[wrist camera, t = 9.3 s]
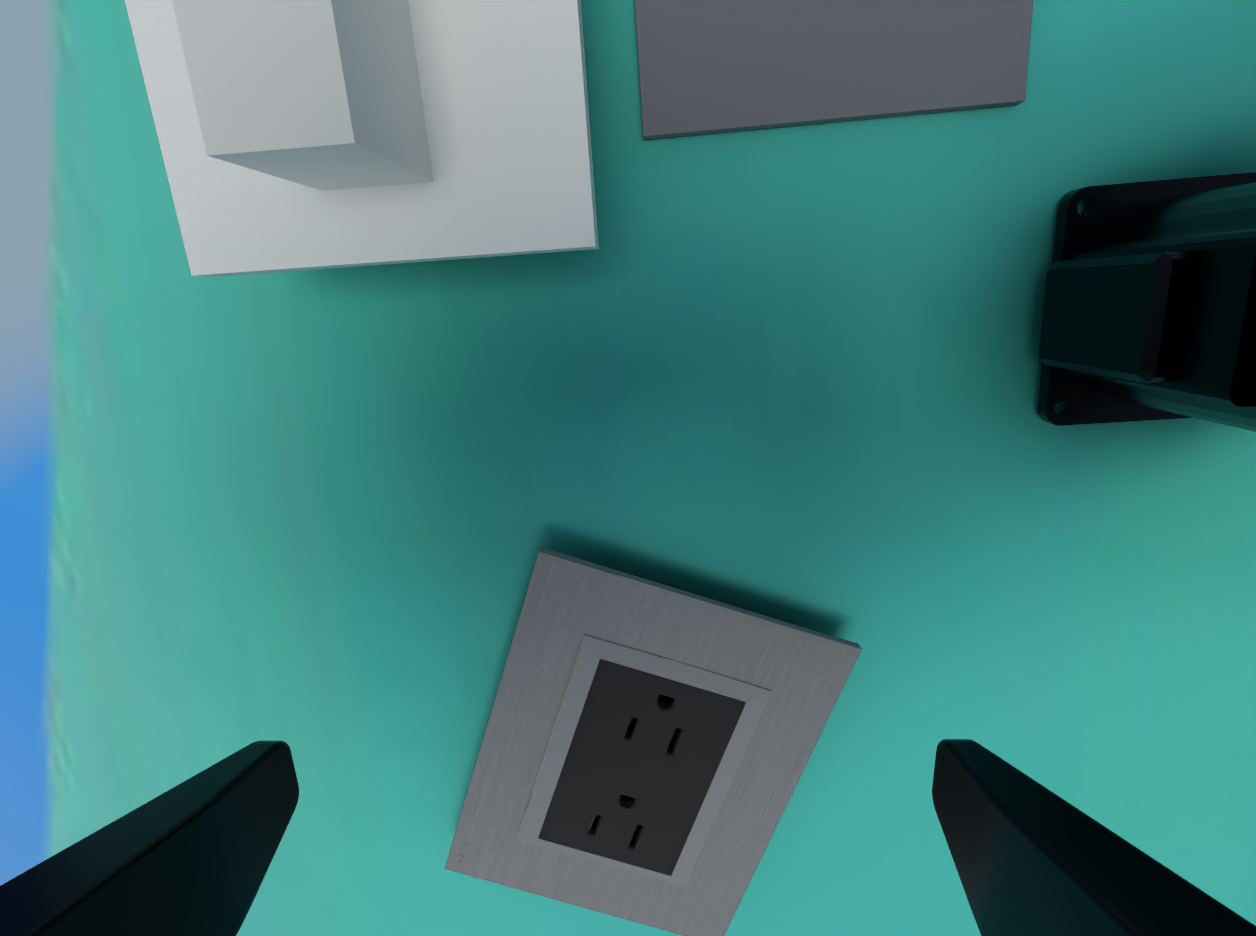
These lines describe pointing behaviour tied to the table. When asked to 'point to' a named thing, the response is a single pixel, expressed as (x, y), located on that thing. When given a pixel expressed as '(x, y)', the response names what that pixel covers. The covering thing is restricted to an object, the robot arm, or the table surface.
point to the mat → (824, 61)
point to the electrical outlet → (642, 746)
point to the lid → (369, 129)
